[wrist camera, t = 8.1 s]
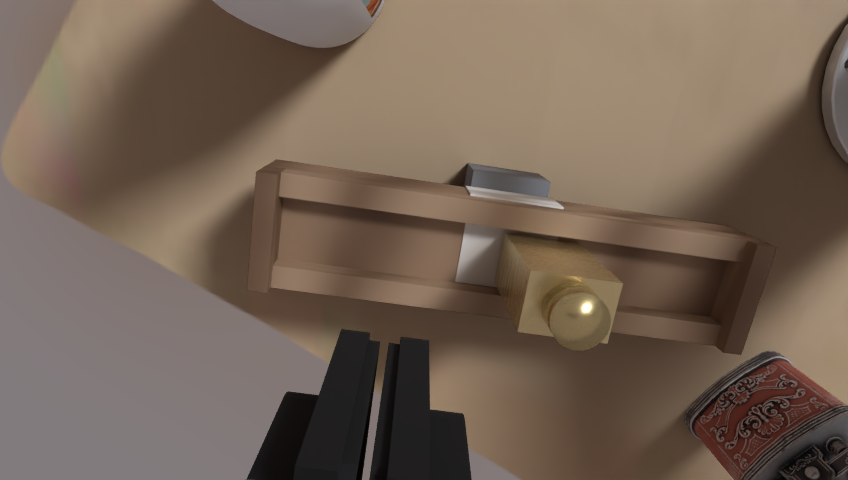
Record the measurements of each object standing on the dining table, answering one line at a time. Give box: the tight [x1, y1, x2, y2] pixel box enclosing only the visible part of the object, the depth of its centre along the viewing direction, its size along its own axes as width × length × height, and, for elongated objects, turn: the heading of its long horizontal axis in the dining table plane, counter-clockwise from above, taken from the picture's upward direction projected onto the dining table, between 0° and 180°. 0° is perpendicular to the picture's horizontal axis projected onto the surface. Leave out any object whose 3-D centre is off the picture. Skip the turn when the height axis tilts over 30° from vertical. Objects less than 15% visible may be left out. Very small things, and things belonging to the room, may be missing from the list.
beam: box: [247, 160, 777, 355], centre depth 32 cm, size 26×8×8 cm, turn 81°
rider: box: [495, 232, 623, 351], centre depth 26 cm, size 4×3×8 cm
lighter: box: [685, 351, 848, 480], centre depth 35 cm, size 8×3×10 cm, turn 133°
